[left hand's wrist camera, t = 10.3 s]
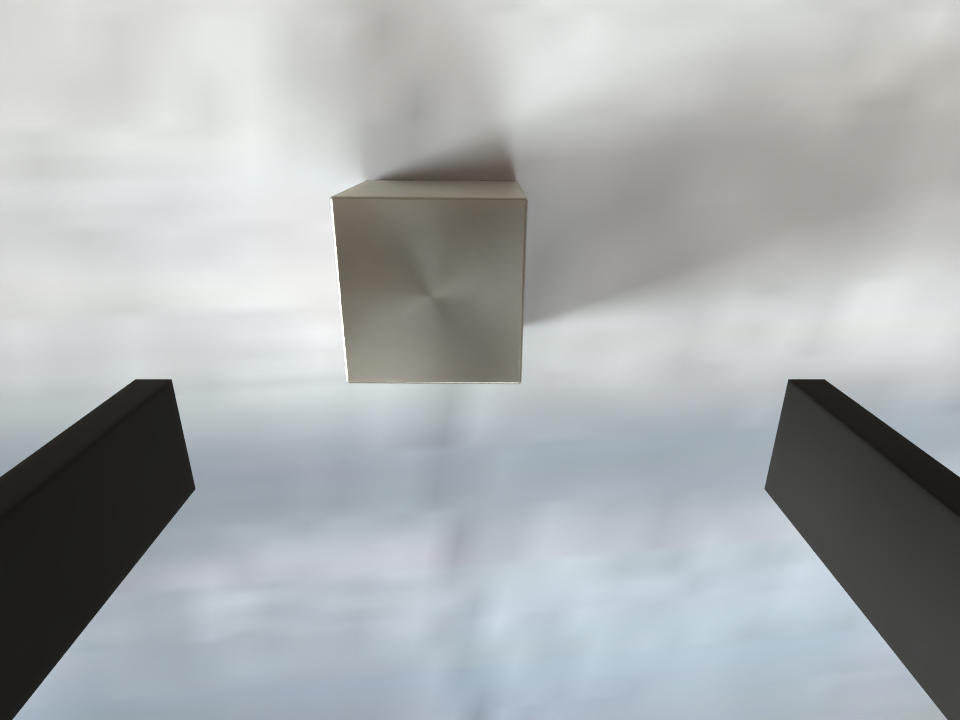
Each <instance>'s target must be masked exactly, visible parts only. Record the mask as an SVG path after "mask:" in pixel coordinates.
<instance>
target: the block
mask: <svg viewBox="0 0 960 720" xmlns="http://www.w3.org/2000/svg"><path fill="white" fill-rule="evenodd" d="M330 203H331V214H332V225H333V236H334V247H335V258H336V269H337V281H338V292H339V303H340V314H341V325H342V336H343V347H344V358H345V369H346V380H347V382H348V383H447V384H520V383H521V374H522V346H523V318H524V289H525V261H526V232H527V204H528V200H527V198H526V196H525V195H524V193H523V191H522V190H521V188H520V187H519V185H518V183H517V182H516V181H438V180H366V181H364V182H362V183H360V184H358V185H356V186H354V187H351V188H349V189H347V190H345V191H343V192H341V193H339V194H336V195H334V196H332V197H331V199H330Z"/></svg>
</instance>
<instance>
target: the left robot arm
mask: <svg viewBox="0 0 960 720" xmlns="http://www.w3.org/2000/svg"><path fill="white" fill-rule="evenodd" d="M194 490H195V485H194V480H193V476H192V471H191V466H190V462H189V457H188V453H187V448H186V443H185V439H184V434H183V430H182V425H181V421H180V416H179V411H178V407H177V402H176V398H175V393H174V388H173V384H172V379H135V380H134V381H133V382H131V383H130V384H129V385H127V386H126V387H124V388H123V389H122V390H120V391H119V392H117V393H116V394H115V395H113V396H112V397H111V398H109V399H108V400H106V401H105V402H104V403H102V404H101V405H100V406H98V407H97V408H95V409H94V410H93V411H91V412H90V413H88V414H87V415H86V416H84V417H83V418H82V419H80V420H79V421H77V422H76V423H75V424H73V425H72V426H70V427H69V428H68V429H66V430H65V431H64V432H62V433H61V434H59V435H58V436H57V437H55V438H54V439H53V440H51V441H50V442H48V443H47V444H46V445H44V446H43V447H41V448H40V449H39V450H37V451H36V452H35V453H33V454H32V455H30V456H29V457H28V458H26V459H25V460H23V461H22V462H21V463H19V464H18V465H17V466H15V467H14V468H12V469H11V470H10V471H8V472H7V473H6V474H4V475H3V476H1V477H0V720H12V719H13V718H14V717H15V716H16V714H17V713H18V712H19V711H20V709H21V708H22V707H23V706H24V704H25V703H26V702H27V701H28V699H29V698H30V697H31V696H32V694H33V693H34V692H35V690H36V689H37V688H38V687H39V685H40V684H41V683H42V682H43V680H44V679H45V678H46V677H47V675H48V674H49V673H50V672H51V670H52V669H53V668H54V667H55V665H56V664H57V663H58V661H59V660H60V659H61V658H62V656H63V655H64V654H65V653H66V651H67V650H68V649H69V648H70V646H71V645H72V644H73V643H74V641H75V640H76V639H77V638H78V636H79V635H80V634H81V632H82V631H83V630H84V629H85V627H86V626H87V625H88V624H89V622H90V621H91V620H92V619H93V617H94V616H95V615H96V614H97V612H98V611H99V610H100V609H101V607H102V606H103V605H104V604H105V602H106V601H107V600H108V598H109V597H110V596H111V595H112V593H113V592H114V591H115V590H116V588H117V587H118V586H119V585H120V583H121V582H122V581H123V580H124V578H125V577H126V576H127V575H128V573H129V572H130V571H131V569H132V568H133V567H134V566H135V564H136V563H137V562H138V561H139V559H140V558H141V557H142V556H143V554H144V553H145V552H146V551H147V549H148V548H149V547H150V546H151V544H152V543H153V542H154V540H155V539H156V538H157V537H158V535H159V534H160V533H161V532H162V530H163V529H164V528H165V527H166V525H167V524H168V523H169V522H170V520H171V519H172V518H173V517H174V515H175V514H176V513H177V512H178V510H179V509H180V508H181V506H182V505H183V504H184V503H185V501H186V500H187V499H188V498H189V496H190V495H191V494H192V493H193V491H194ZM765 490H766V491H767V493H768V494H769V495H770V496H771V498H772V499H773V500H774V501H775V503H776V504H777V505H778V506H779V508H780V509H781V510H782V512H783V513H784V514H785V515H786V517H787V518H788V519H789V520H790V522H791V523H792V524H793V525H794V527H795V528H796V529H797V530H798V532H799V533H800V534H801V535H802V537H803V538H804V539H805V540H806V542H807V543H808V544H809V546H810V547H811V548H812V549H813V551H814V552H815V553H816V554H817V556H818V557H819V558H820V559H821V561H822V562H823V563H824V564H825V566H826V567H827V568H828V569H829V571H830V572H831V573H832V575H833V576H834V577H835V578H836V580H837V581H838V582H839V583H840V585H841V586H842V587H843V588H844V590H845V591H846V592H847V593H848V595H849V596H850V597H851V598H852V600H853V601H854V602H855V604H856V605H857V606H858V607H859V609H860V610H861V611H862V612H863V614H864V615H865V616H866V617H867V619H868V620H869V621H870V622H871V624H872V625H873V626H874V627H875V629H876V630H877V631H878V632H879V634H880V635H881V636H882V638H883V639H884V640H885V641H886V643H887V644H888V645H889V646H890V648H891V649H892V650H893V651H894V653H895V654H896V655H897V656H898V658H899V659H900V660H901V661H902V663H903V664H904V665H905V667H906V668H907V669H908V670H909V672H910V673H911V674H912V675H913V677H914V678H915V679H916V680H917V682H918V683H919V684H920V685H921V687H922V688H923V689H924V690H925V692H926V693H927V694H928V696H929V697H930V698H931V699H932V701H933V702H934V703H935V704H936V706H937V707H938V708H939V709H940V711H941V712H942V713H943V714H944V716H945V717H946V718H947V719H948V720H960V477H959V476H957V475H956V474H954V473H953V472H952V471H950V470H949V469H948V468H946V467H945V466H943V465H942V464H941V463H939V462H938V461H937V460H935V459H934V458H932V457H931V456H930V455H928V454H927V453H925V452H924V451H923V450H921V449H920V448H919V447H917V446H916V445H914V444H913V443H912V442H910V441H909V440H907V439H906V438H905V437H903V436H902V435H901V434H899V433H898V432H896V431H895V430H894V429H892V428H891V427H890V426H888V425H887V424H885V423H884V422H883V421H881V420H880V419H878V418H877V417H876V416H874V415H873V414H872V413H870V412H869V411H867V410H866V409H865V408H863V407H862V406H860V405H859V404H858V403H856V402H855V401H854V400H852V399H851V398H849V397H848V396H847V395H845V394H844V393H843V392H841V391H840V390H838V389H837V388H836V387H834V386H833V385H831V384H830V383H829V382H827V381H826V380H825V379H788V384H787V388H786V393H785V398H784V402H783V407H782V411H781V416H780V421H779V425H778V430H777V434H776V439H775V443H774V448H773V453H772V457H771V462H770V466H769V471H768V476H767V480H766V485H765Z"/></svg>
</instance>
